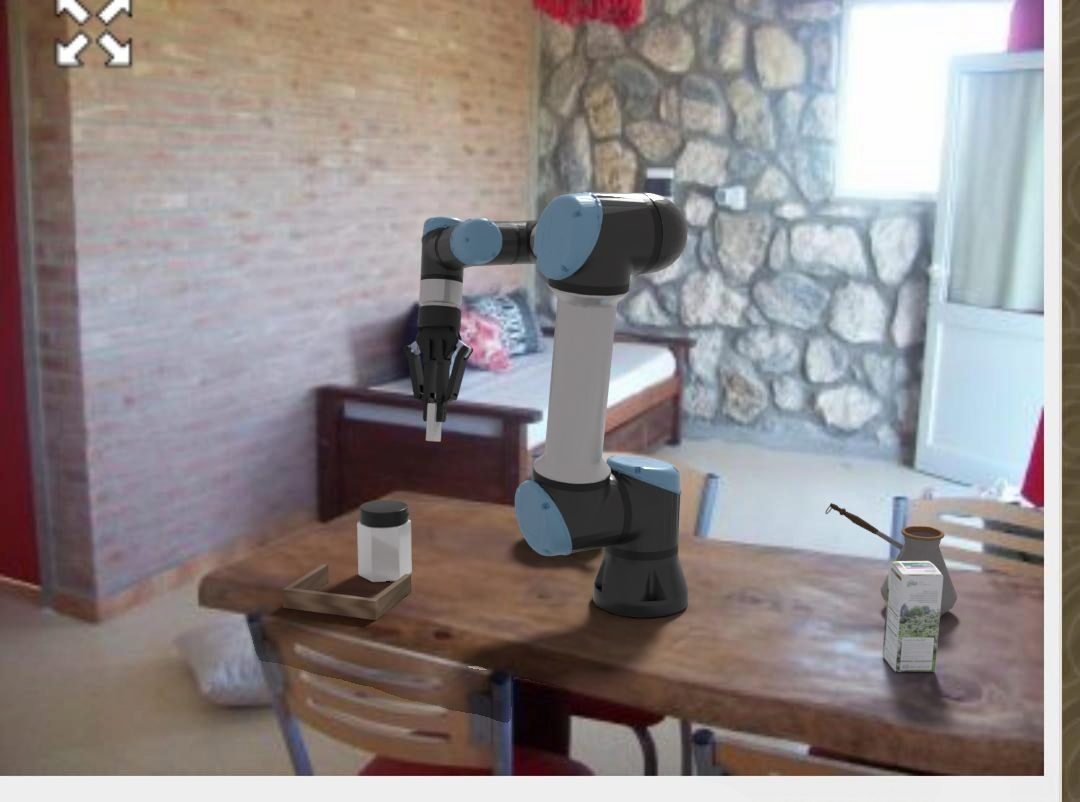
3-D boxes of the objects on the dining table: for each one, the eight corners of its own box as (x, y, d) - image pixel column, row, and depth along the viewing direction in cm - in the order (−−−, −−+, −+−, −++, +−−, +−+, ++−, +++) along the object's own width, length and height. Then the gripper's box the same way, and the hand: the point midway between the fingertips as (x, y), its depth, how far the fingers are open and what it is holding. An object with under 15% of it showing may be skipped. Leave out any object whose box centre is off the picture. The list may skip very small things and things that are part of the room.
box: (411, 592, 193) (411, 574, 192) (376, 620, 181) (375, 601, 180) (323, 581, 198) (322, 563, 197) (283, 607, 186) (282, 589, 185)
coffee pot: (964, 607, 188) (972, 516, 185) (943, 630, 178) (950, 534, 176) (835, 580, 200) (839, 494, 197) (808, 600, 190) (813, 510, 187)
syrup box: (921, 656, 169) (928, 558, 166) (936, 673, 163) (944, 572, 160) (881, 656, 168) (888, 558, 166) (895, 674, 163) (902, 572, 160)
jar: (420, 576, 201) (419, 507, 198) (378, 586, 195) (377, 516, 193) (391, 562, 207) (390, 496, 205) (350, 572, 202) (349, 504, 200)
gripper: (483, 309, 209) (476, 443, 208) (418, 310, 215) (411, 440, 213) (463, 303, 202) (456, 441, 201) (397, 304, 208) (389, 439, 206)
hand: (433, 440), depth 207 cm, fingers closed
